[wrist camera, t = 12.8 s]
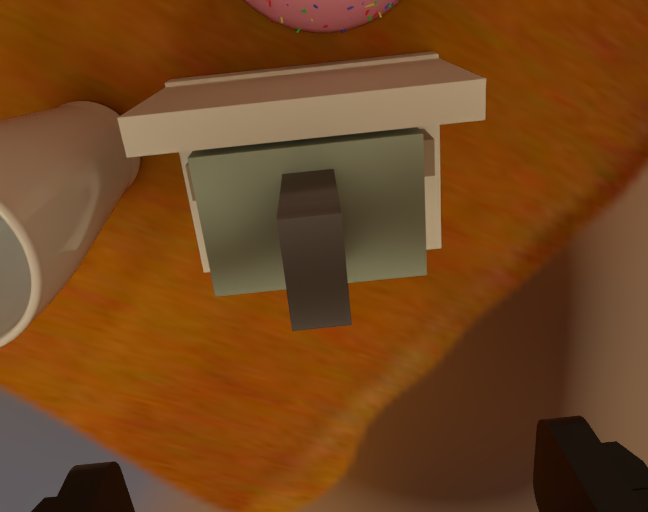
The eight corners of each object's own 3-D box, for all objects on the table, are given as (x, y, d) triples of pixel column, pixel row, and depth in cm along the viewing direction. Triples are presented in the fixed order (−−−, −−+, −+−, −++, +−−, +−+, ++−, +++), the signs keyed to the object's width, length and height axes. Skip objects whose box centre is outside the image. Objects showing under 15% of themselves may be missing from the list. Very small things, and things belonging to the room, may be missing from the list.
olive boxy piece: (216, 118, 29) (155, 200, 17) (393, 99, 29) (455, 169, 17) (235, 227, 31) (194, 365, 20) (398, 210, 31) (455, 339, 19)
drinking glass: (154, 89, 30) (27, 166, 16) (159, 211, 32) (54, 366, 19) (21, 79, 29) (-228, 149, 16) (37, 203, 32) (-162, 356, 18)
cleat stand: (170, 78, 29) (115, 112, 21) (432, 51, 29) (486, 73, 21) (207, 261, 34) (174, 351, 25) (435, 238, 34) (481, 320, 25)
